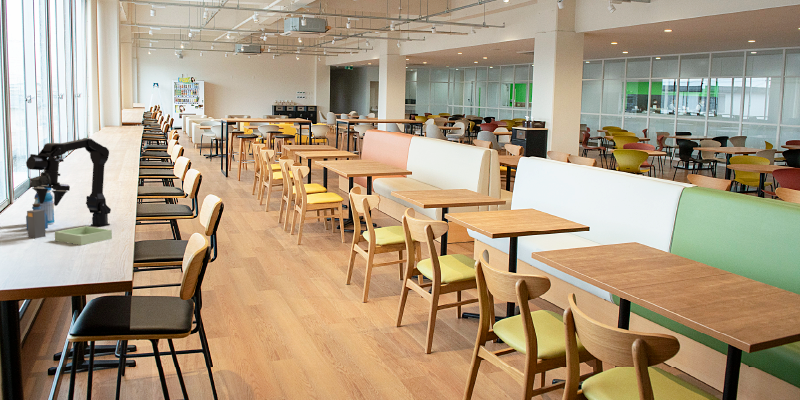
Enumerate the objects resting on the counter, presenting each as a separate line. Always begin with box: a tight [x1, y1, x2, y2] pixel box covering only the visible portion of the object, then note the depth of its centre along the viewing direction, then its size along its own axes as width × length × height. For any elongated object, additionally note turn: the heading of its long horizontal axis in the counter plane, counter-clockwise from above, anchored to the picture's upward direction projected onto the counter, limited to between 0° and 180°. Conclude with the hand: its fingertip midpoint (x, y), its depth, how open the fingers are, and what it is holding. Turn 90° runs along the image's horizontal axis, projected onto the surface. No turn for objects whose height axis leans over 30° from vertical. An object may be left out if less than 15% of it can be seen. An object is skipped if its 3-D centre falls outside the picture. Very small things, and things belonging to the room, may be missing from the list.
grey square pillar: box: [26, 209, 46, 239], centre depth 269 cm, size 5×4×12 cm
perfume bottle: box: [25, 203, 49, 230], centre depth 286 cm, size 6×6×12 cm
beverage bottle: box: [33, 184, 55, 226], centre depth 298 cm, size 8×8×20 cm
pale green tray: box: [54, 226, 113, 246], centre depth 268 cm, size 16×16×4 cm
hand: (48, 204), depth 274 cm, fingers open, 9 cm apart
